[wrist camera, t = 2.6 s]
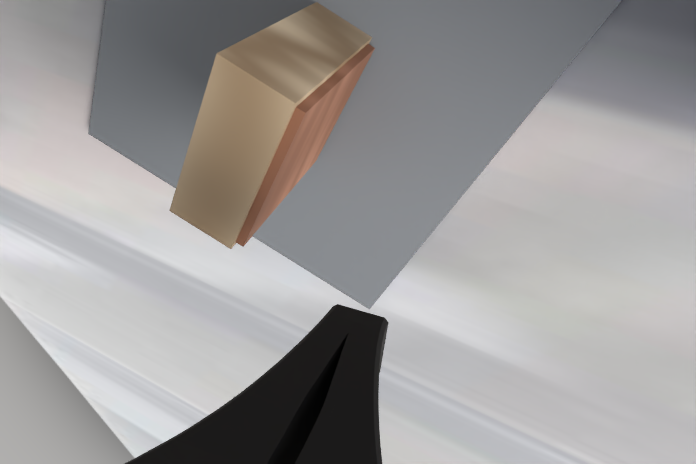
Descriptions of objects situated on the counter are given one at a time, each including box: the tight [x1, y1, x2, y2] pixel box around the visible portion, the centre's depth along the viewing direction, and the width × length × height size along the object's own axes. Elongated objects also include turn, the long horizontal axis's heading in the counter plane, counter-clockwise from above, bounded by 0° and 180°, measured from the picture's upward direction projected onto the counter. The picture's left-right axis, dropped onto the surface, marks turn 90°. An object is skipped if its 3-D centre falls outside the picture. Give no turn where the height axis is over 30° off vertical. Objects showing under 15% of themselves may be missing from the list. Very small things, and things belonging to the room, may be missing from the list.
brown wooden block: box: [170, 2, 375, 249], centre depth 18 cm, size 3×6×7 cm, turn 154°
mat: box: [88, 0, 622, 309], centre depth 20 cm, size 17×18×1 cm
